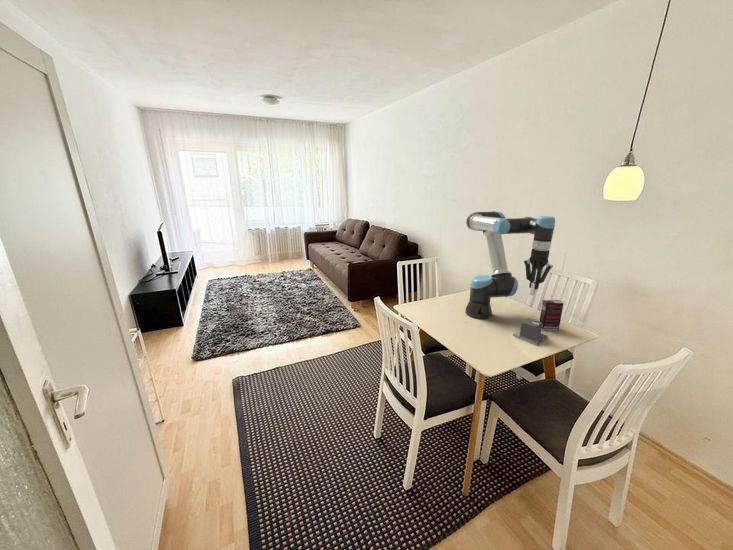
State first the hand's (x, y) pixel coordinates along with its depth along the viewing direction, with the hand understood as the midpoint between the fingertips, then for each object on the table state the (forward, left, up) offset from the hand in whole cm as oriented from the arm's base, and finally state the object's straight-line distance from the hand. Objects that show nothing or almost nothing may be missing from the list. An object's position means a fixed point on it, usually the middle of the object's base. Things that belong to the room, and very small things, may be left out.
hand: (532, 294), depth 149 cm
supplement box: (+4, +15, -22) cm, 27 cm away
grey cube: (+3, -3, -21) cm, 21 cm away
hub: (+3, -3, -22) cm, 22 cm away
